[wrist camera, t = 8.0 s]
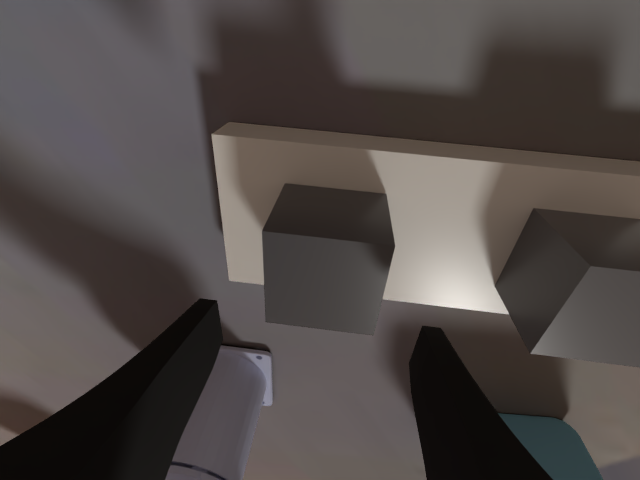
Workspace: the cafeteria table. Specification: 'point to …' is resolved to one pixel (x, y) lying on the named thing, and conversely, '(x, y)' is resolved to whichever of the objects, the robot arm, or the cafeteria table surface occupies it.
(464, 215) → the power strip
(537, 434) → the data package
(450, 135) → the cafeteria table surface
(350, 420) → the cafeteria table surface
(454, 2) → the cafeteria table surface
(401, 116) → the cafeteria table surface
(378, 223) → the matte gray cuboid
